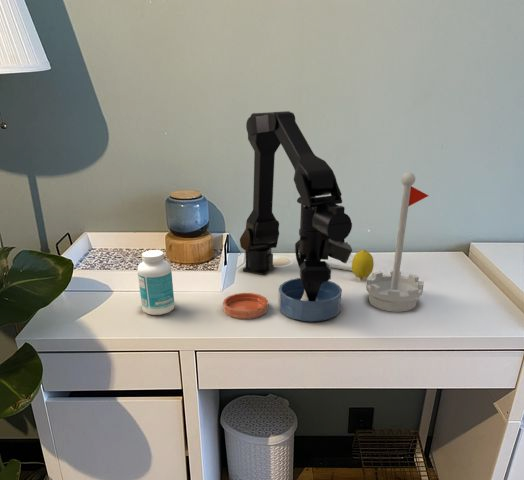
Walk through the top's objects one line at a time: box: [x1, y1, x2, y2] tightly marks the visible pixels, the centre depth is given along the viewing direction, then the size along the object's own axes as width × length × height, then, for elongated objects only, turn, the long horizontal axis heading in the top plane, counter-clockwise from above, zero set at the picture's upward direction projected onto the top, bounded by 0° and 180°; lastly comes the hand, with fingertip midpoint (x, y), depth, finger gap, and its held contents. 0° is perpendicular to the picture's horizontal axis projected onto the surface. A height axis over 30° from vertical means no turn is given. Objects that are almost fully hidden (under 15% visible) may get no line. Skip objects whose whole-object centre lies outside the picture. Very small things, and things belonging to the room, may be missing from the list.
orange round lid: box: [222, 292, 269, 320], centre depth 128 cm, size 10×10×2 cm
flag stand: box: [365, 171, 430, 313], centre depth 125 cm, size 13×13×30 cm
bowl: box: [277, 277, 343, 322], centre depth 127 cm, size 14×14×5 cm
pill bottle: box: [136, 249, 175, 316], centre depth 125 cm, size 8×7×14 cm
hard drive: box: [321, 255, 355, 272], centre depth 154 cm, size 2×8×12 cm
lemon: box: [351, 249, 375, 281], centre depth 143 cm, size 6×6×8 cm
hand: (310, 294), depth 127 cm, fingers open, 9 cm apart
